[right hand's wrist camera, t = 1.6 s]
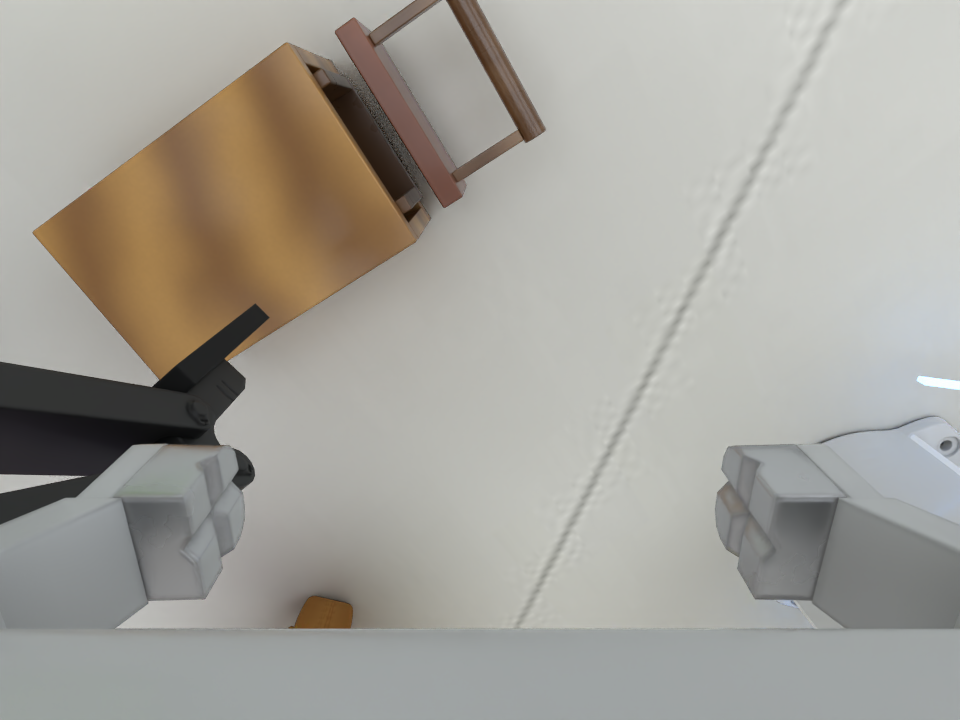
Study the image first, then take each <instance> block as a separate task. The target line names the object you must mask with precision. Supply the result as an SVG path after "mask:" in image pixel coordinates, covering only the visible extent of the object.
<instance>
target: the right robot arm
mask: <svg viewBox="0 0 960 720" xmlns="http://www.w3.org/2000/svg"><path fill="white" fill-rule="evenodd" d="M917 381H919V382H920V383H922V384H924V385H929V386H936V387H944V388H952V389H959V390H960V382H959V381H952V380H944V379H936V378H929V377H921V376H919V377H918V379H917ZM944 441H945V442H944ZM942 442H944V443H943V444H942V445H941V443H942ZM238 470H239V468H238V464H237V459H236V454H235V451H234V450H233V449H232V448H231V447H230V446H229V445H182V444H170V445H168V444H139V445H132V446H131V447H130V448H129V449H128V450H127V451H126V452H125V453H124V454H123V455H122V456H120V457H119V458H118V459H117V460H116V461H115V462H114V463H113V464H112V465H111V466H110V467H109V468H107V469H106V470H105V471H104V472H103V473H102V474H101V475H100V476H99V477H98V478H97V479H96V480H94V481H93V482H92V483H91V484H90V485H89V486H88V487H87V488H86V489H85V490H84V491H83V492H81V493H80V494H79V495H78V496H77V497H76V498H64V499H61V500H59V501H57V502H54V503H52V504H49V505H47V506H44V507H42V508H40V509H37V510H35V511H32V512H30V513H27V514H25V515H22V516H20V517H18V518H15V519H13V520H10V521H8V522H5V523H3V524H1V525H0V720H960V434H959V433H958V432H957V431H956V430H955V429H954V428H953V427H952V426H951V425H950V424H949V423H947V422H946V421H945V420H944V419H942V418H940V417H927V418H923V419H920V420H917V421H914V422H912V423H909V424H907V425H904V426H902V427H899V428H897V429H892V430H883V431H865V432H857V433H852V434H847V435H843V436H840V437H837V438H834V439H831V440H829V441H826V442H824V443H822V444H797V445H795V444H785V445H743V446H730V447H728V448H727V450H726V452H725V454H724V457H723V463H722V468H721V470H722V471H723V473H724V474H725V476H726V477H727V479H728V480H729V481H728V482H727V483H726V484H725V485H724V486H723V487H722V488H721V489H720V490H719V491H718V492H717V499H716V506H715V515H716V526H717V530H718V533H719V536H720V539H721V541H722V543H723V544H724V546H725V548H726V549H727V550H728V551H730V552H731V553H733V554H734V555H736V556H738V557H739V561H738V567H737V569H738V571H739V573H740V574H741V576H742V578H743V579H744V581H745V583H746V585H747V586H748V588H749V590H750V591H751V593H752V595H753V597H754V598H755V599H766V600H776V601H777V602H779V603H781V604H784V605H787V606H791V607H794V608H797V609H800V610H801V611H802V613H803V614H804V615H805V617H806V618H807V619H808V621H809V622H810V623H811V625H812V626H813V627H814V629H115V628H116V627H118V626H119V625H120V624H122V623H123V622H124V621H126V620H127V619H128V618H130V617H131V616H132V615H134V614H135V613H136V612H138V611H139V610H140V609H142V608H143V607H144V606H145V605H147V604H148V601H156V600H192V599H205V598H206V597H207V595H208V593H209V591H210V590H211V588H212V586H213V585H214V583H215V581H216V579H217V578H218V576H219V574H220V573H221V571H222V569H223V567H222V561H221V557H222V556H224V555H226V554H227V553H229V552H230V551H232V550H233V549H234V548H235V546H236V544H237V542H238V541H239V539H240V537H241V533H242V529H243V524H244V520H245V504H244V498H243V492H242V491H241V490H240V489H239V488H238V487H237V486H236V485H235V484H234V483H233V482H232V481H231V480H232V479H233V477H234V476H235V474H236V473H237V471H238Z"/></svg>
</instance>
